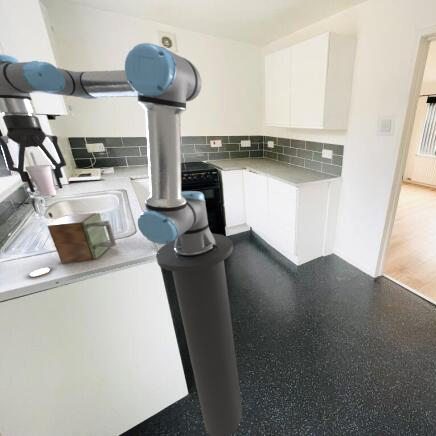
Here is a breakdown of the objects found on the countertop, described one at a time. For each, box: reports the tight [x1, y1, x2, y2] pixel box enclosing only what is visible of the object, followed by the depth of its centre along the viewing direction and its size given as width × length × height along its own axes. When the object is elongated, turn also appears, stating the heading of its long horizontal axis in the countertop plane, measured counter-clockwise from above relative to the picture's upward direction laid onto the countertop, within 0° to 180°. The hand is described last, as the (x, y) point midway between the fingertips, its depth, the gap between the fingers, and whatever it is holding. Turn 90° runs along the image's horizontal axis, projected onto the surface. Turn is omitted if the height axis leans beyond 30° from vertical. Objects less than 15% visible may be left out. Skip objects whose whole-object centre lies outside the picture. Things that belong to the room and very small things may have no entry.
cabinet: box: [46, 212, 97, 264], centre depth 93 cm, size 10×11×15 cm
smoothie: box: [24, 152, 57, 197], centre depth 80 cm, size 6×6×14 cm
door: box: [82, 212, 118, 260], centre depth 95 cm, size 8×11×15 cm
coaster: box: [29, 267, 51, 278], centre depth 83 cm, size 5×5×1 cm
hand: (47, 189), depth 82 cm, fingers closed on smoothie, 6 cm apart
